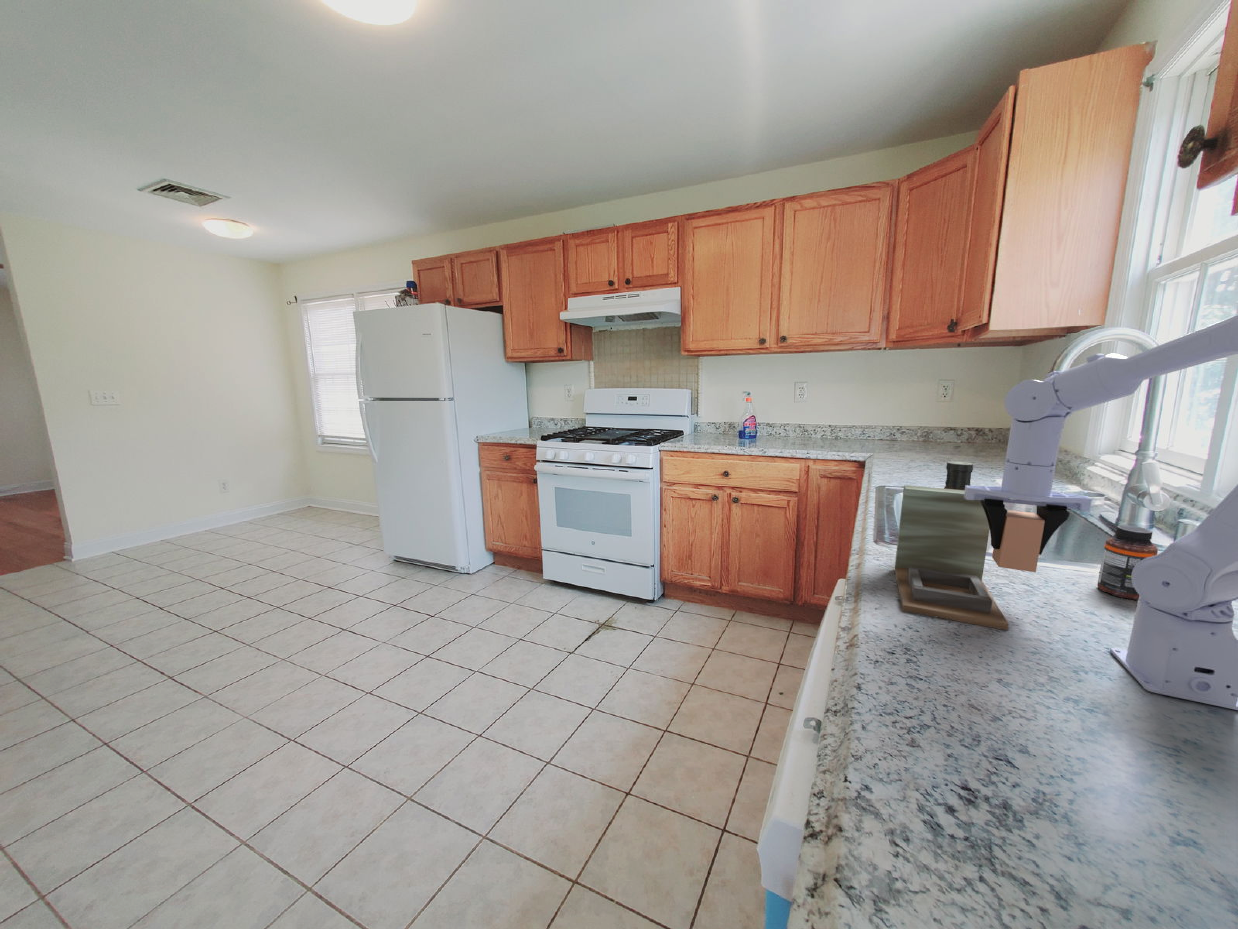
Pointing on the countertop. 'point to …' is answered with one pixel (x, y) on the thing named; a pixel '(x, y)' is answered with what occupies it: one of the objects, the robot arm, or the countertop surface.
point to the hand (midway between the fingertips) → (1015, 549)
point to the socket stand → (944, 557)
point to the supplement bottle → (1124, 559)
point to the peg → (1020, 541)
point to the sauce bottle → (958, 475)
